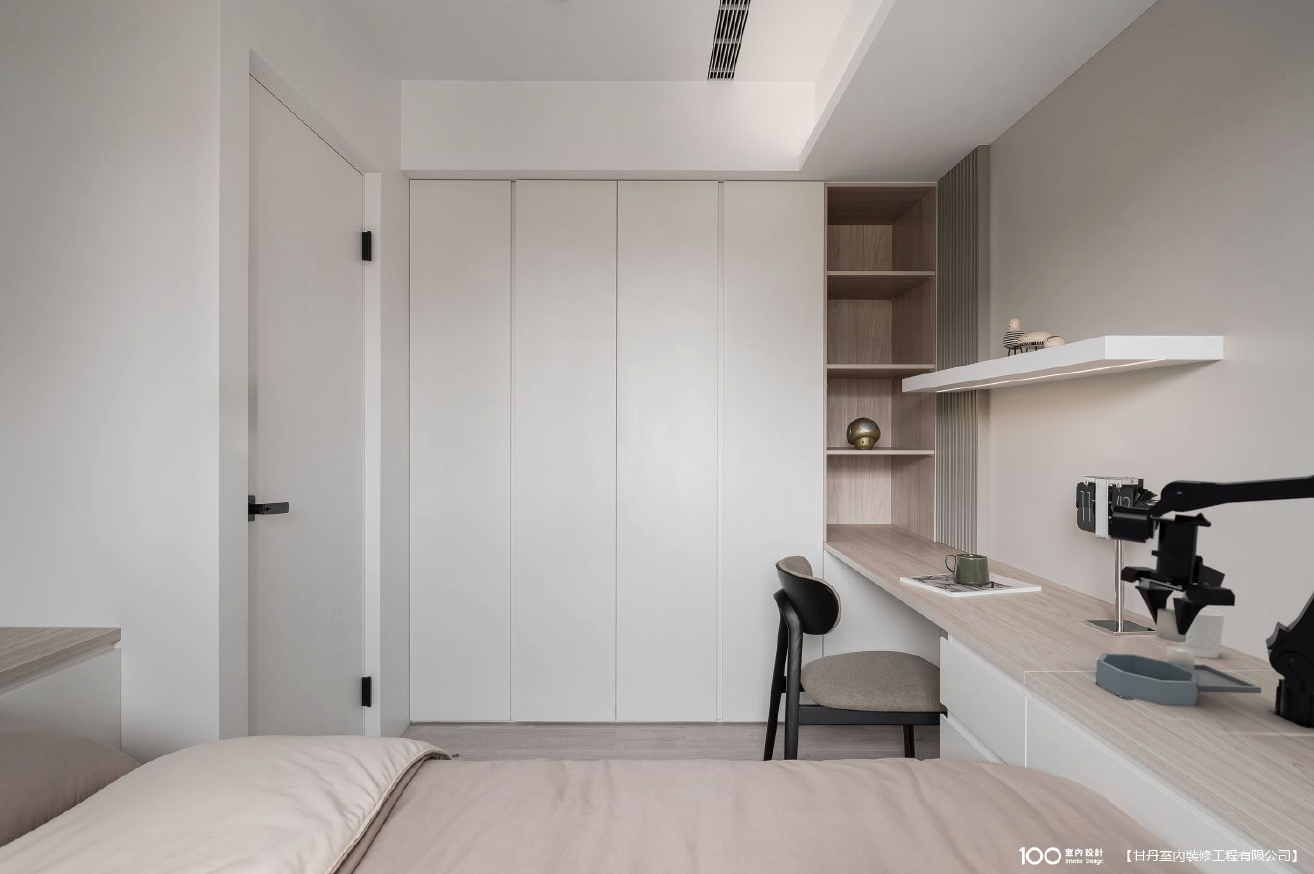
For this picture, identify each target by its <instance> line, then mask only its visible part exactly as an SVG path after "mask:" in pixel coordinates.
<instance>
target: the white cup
mask: <svg viewBox="0 0 1314 874" xmlns="http://www.w3.org/2000/svg"><path fill="white" fill-rule="evenodd" d="M1224 619H1225V613H1223V612H1221V611H1219V610H1215V609H1211V608H1207V607H1204V608H1203V609H1201V610H1200V612H1199V613H1198V614H1197V616H1196V617H1195V619H1194V621H1193V623H1192V624H1191V626H1190V628H1189V630H1188V631H1187V633H1186V641H1185V642H1178V646H1180V647H1185V648H1189V649H1192V650H1194V651H1195V657H1200V658H1206V659H1217V658H1219V653H1220V647H1221V642H1222V637H1223V636H1222V635H1223V627H1224V621H1225V620H1224Z"/></svg>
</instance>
